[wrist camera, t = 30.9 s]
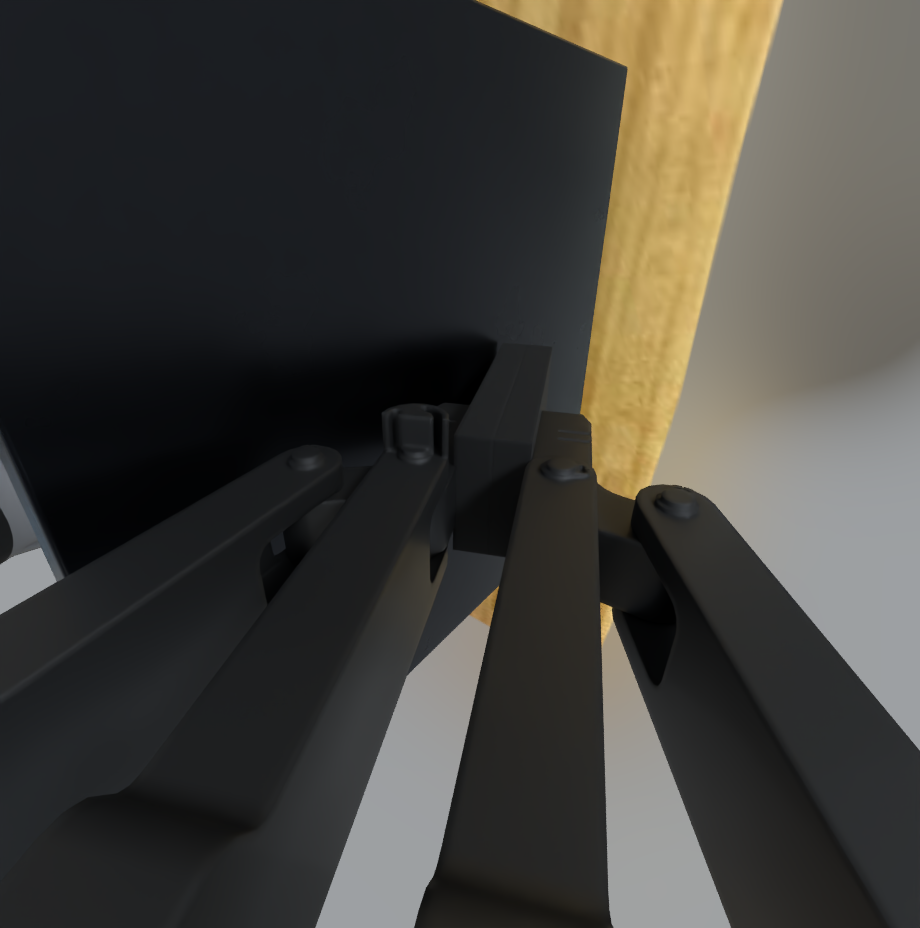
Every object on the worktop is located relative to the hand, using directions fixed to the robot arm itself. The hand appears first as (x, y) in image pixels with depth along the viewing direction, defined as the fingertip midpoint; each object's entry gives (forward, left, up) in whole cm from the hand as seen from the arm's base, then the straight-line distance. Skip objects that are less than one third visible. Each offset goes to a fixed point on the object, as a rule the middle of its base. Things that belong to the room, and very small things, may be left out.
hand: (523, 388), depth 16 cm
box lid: (-3, 0, +2) cm, 3 cm away
